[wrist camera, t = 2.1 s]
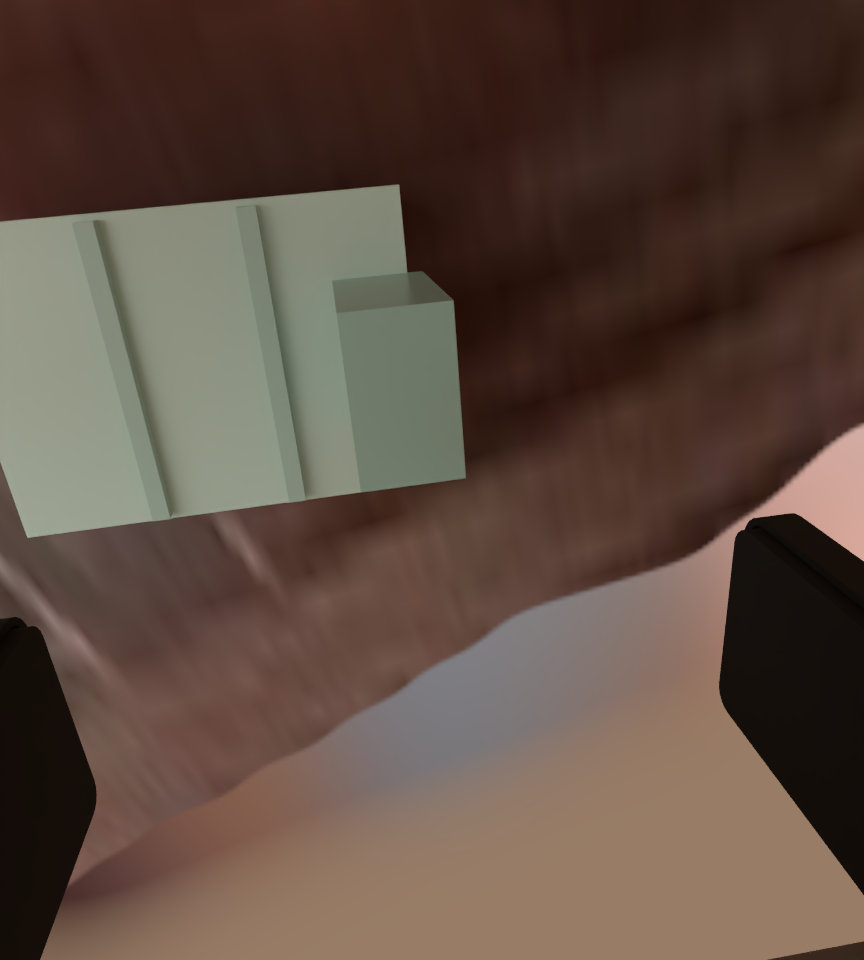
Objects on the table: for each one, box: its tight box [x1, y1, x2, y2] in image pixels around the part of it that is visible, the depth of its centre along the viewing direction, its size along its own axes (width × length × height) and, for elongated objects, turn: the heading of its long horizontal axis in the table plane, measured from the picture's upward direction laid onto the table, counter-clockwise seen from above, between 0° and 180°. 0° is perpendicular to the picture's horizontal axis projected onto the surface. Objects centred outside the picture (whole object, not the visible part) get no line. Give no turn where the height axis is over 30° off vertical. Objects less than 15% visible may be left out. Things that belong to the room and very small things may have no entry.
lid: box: [0, 185, 466, 538], centre depth 22 cm, size 10×15×8 cm
